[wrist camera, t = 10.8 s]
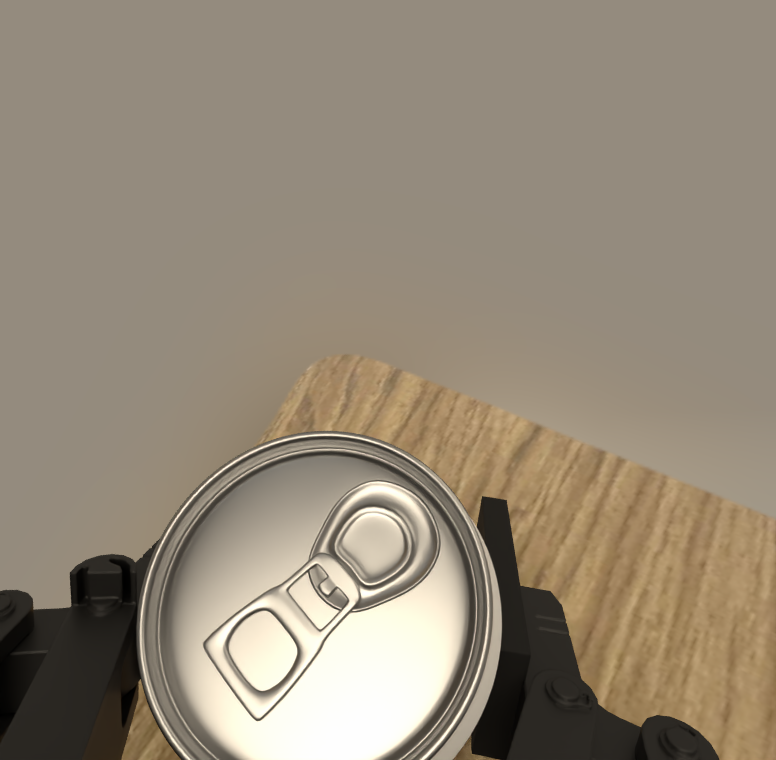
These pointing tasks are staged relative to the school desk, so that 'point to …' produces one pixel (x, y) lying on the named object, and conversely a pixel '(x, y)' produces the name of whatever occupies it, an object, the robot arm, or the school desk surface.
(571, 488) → the school desk surface
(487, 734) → the robot arm
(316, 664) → the can
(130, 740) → the school desk surface
